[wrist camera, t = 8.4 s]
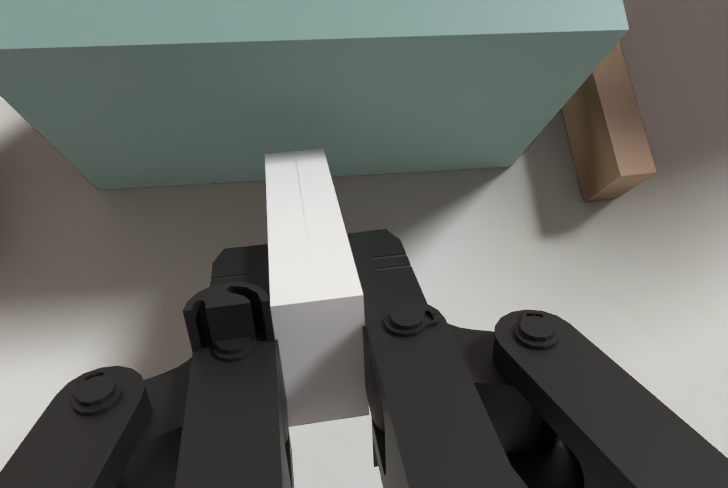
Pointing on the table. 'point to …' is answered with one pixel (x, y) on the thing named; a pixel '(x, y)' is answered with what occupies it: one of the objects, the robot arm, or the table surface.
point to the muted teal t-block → (295, 82)
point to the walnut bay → (607, 132)
